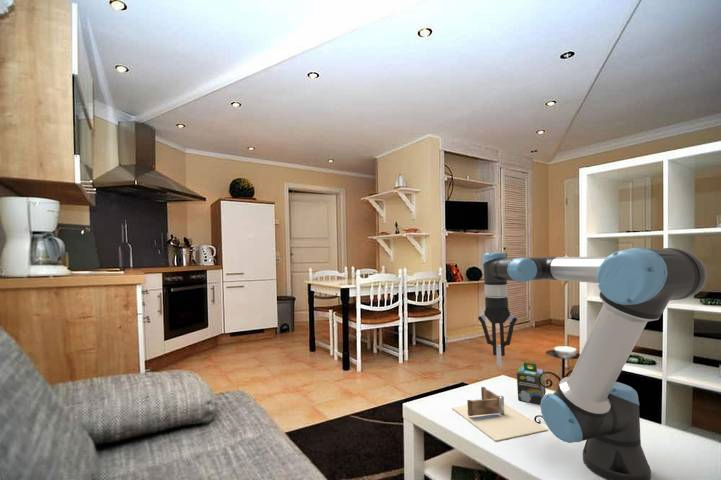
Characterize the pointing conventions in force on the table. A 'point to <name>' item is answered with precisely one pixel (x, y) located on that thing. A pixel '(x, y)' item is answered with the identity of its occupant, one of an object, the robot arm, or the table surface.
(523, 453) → the table surface
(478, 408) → the hinged panel
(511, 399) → the table surface
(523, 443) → the table surface
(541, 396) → the chalk box
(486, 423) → the card
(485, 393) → the fixed panel
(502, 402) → the hinge post
